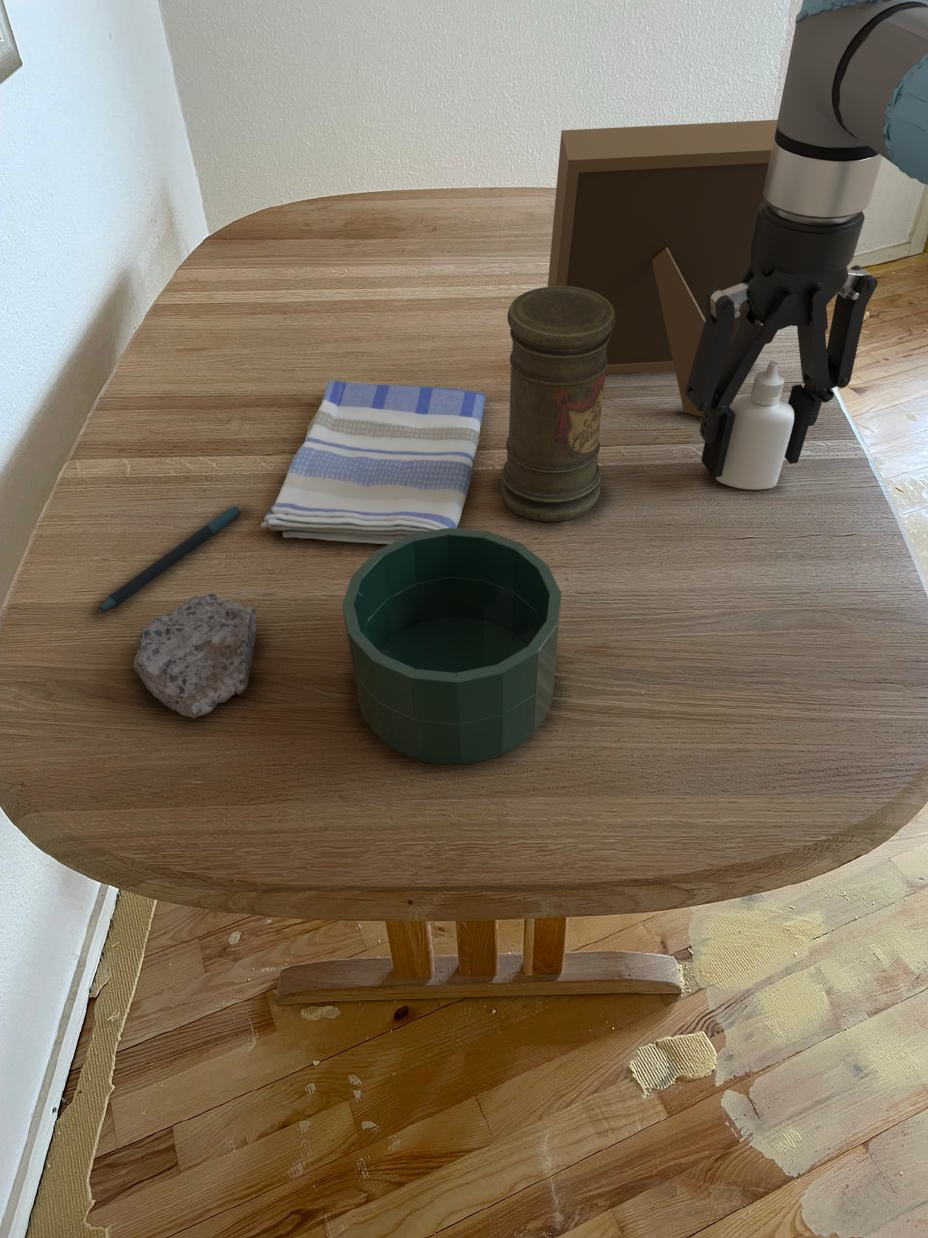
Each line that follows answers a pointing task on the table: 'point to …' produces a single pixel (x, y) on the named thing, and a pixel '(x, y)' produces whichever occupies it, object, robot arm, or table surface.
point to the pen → (170, 558)
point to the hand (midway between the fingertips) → (749, 461)
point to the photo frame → (658, 230)
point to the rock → (197, 654)
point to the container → (556, 401)
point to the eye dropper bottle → (759, 434)
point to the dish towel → (381, 464)
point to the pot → (453, 644)
